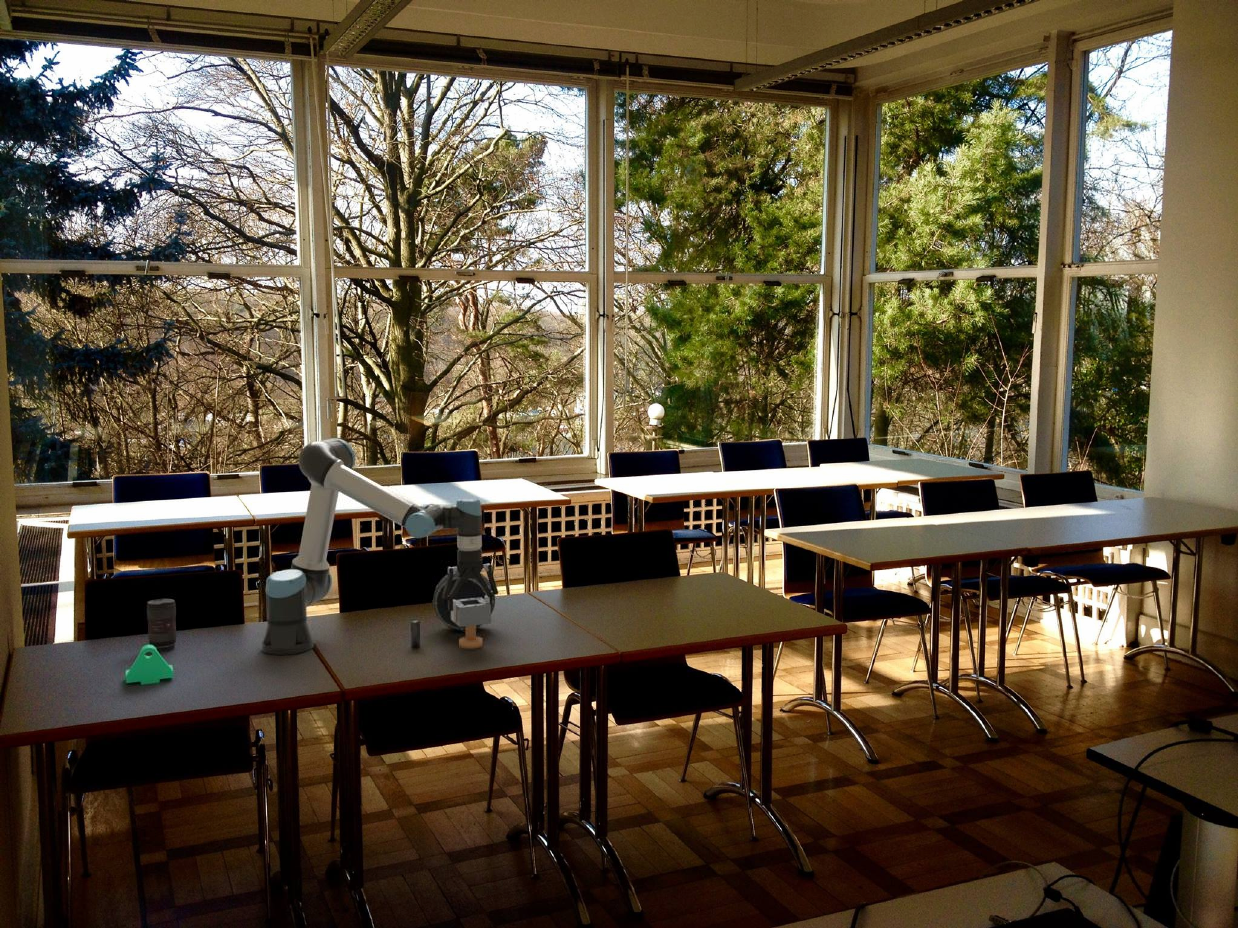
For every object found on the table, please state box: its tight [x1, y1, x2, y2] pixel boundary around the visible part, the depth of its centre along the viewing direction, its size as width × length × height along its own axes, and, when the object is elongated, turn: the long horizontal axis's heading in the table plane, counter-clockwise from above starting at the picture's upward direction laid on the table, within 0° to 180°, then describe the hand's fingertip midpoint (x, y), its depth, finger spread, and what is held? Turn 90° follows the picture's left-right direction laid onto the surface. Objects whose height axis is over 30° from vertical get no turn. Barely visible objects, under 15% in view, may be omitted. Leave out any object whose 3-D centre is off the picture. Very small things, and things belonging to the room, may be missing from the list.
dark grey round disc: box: [432, 571, 496, 633], centre depth 349 cm, size 11×20×20 cm, turn 89°
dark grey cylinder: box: [146, 598, 177, 653], centre depth 326 cm, size 8×8×15 cm
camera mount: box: [125, 644, 174, 686], centre depth 297 cm, size 12×8×10 cm, turn 115°
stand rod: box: [410, 619, 421, 649], centre depth 329 cm, size 3×3×8 cm
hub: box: [458, 625, 483, 650], centre depth 331 cm, size 7×7×10 cm
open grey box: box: [451, 597, 492, 627], centre depth 330 cm, size 10×10×6 cm
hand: (470, 618), depth 330 cm, fingers closed on open grey box, 10 cm apart
